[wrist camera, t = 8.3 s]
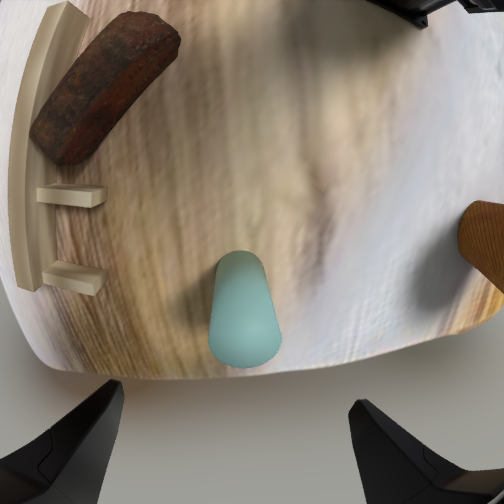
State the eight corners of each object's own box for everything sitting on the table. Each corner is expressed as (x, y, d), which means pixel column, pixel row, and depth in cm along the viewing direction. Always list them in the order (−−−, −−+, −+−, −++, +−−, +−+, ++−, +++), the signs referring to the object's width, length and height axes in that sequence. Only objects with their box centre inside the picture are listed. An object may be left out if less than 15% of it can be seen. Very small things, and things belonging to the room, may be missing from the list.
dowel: (268, 254, 20) (289, 316, 12) (259, 296, 21) (272, 370, 13) (219, 247, 19) (212, 307, 12) (213, 290, 20) (205, 363, 13)
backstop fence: (145, 11, 13) (129, -13, 9) (106, 281, 20) (85, 306, 16) (71, 22, 12) (47, 7, 8) (42, 267, 19) (17, 286, 15)
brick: (90, 163, 17) (55, 169, 12) (60, 134, 15) (23, 134, 11) (187, 50, 14) (175, 22, 10) (151, 25, 13) (132, -3, 9)
